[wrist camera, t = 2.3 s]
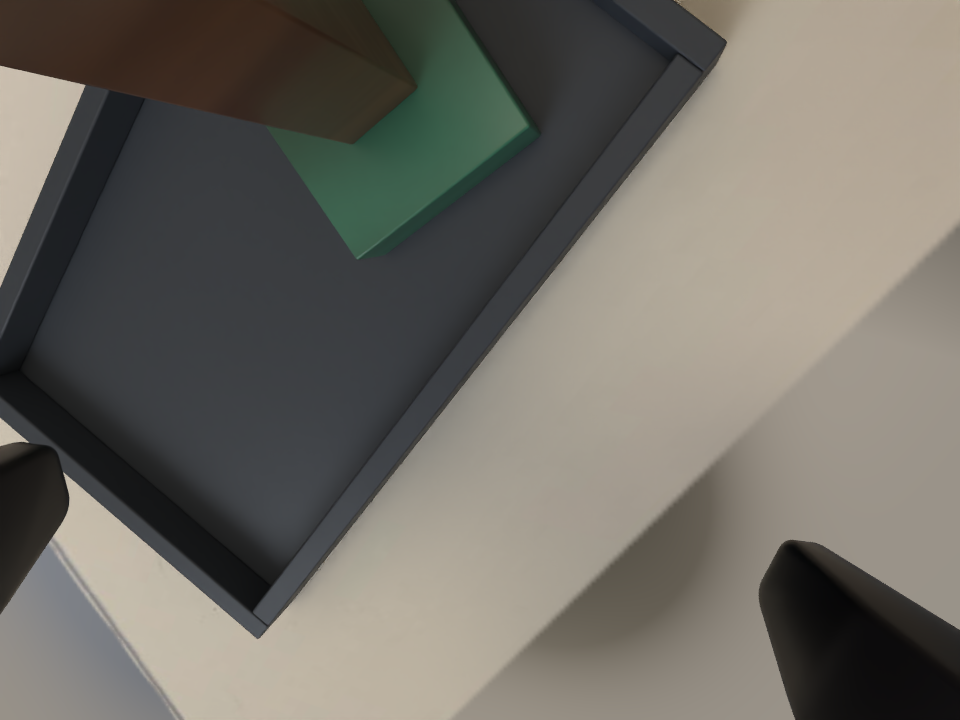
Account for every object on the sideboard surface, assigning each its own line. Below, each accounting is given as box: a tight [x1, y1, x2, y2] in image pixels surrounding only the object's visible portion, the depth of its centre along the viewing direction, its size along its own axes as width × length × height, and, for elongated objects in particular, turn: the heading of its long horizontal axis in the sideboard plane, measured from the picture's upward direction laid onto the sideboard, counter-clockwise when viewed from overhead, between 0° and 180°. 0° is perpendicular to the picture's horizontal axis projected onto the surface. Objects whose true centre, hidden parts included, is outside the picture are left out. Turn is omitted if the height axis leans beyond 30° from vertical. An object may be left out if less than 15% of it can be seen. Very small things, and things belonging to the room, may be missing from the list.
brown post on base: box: [0, 0, 541, 260], centre depth 12 cm, size 8×6×14 cm
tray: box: [0, 0, 727, 639], centre depth 20 cm, size 24×15×2 cm, turn 143°
